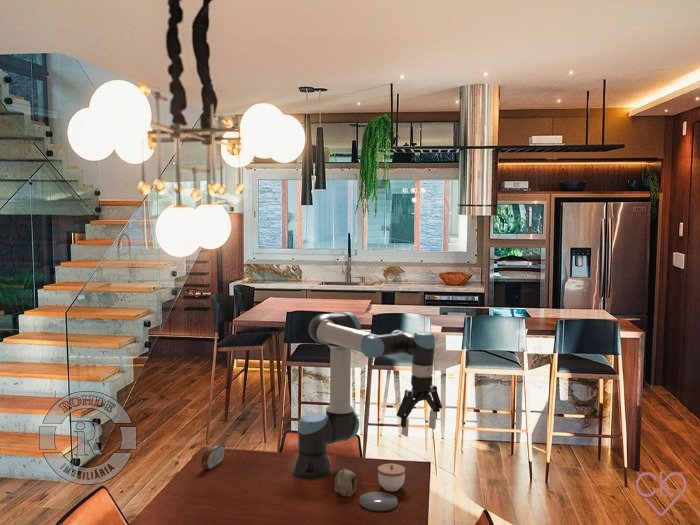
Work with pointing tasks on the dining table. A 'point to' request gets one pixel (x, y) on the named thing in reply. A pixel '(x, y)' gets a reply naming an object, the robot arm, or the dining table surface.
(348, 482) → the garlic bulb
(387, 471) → the lidded jar
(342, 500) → the dining table surface
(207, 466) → the tin
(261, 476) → the dining table surface
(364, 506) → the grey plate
